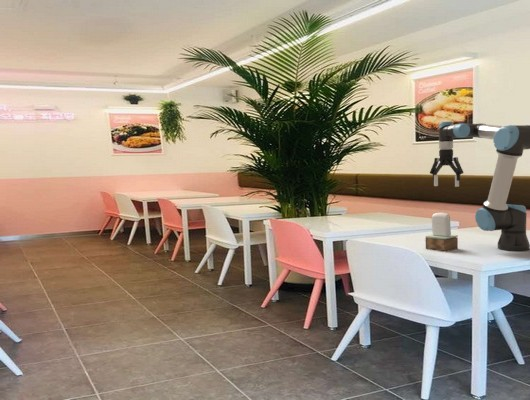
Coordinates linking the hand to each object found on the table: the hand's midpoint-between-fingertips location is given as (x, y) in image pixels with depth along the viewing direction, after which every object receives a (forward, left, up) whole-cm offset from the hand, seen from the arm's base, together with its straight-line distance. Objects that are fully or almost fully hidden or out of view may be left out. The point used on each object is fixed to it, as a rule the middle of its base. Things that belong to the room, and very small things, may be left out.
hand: (446, 186), depth 290 cm
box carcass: (-12, +22, -32) cm, 41 cm away
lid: (-12, +22, -26) cm, 36 cm away
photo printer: (-12, +22, -25) cm, 36 cm away
